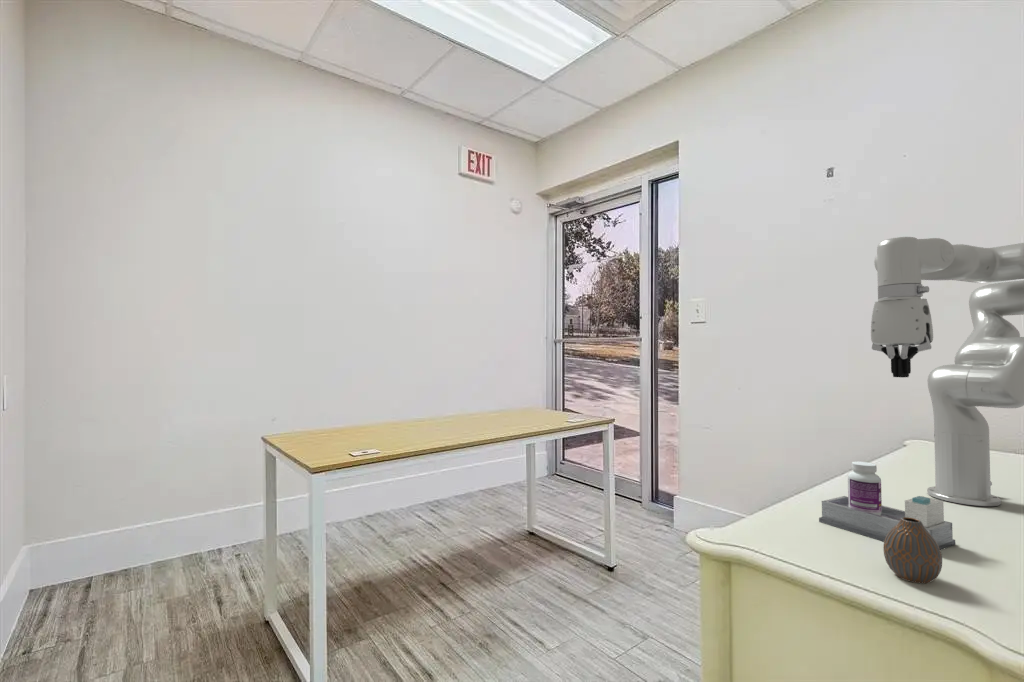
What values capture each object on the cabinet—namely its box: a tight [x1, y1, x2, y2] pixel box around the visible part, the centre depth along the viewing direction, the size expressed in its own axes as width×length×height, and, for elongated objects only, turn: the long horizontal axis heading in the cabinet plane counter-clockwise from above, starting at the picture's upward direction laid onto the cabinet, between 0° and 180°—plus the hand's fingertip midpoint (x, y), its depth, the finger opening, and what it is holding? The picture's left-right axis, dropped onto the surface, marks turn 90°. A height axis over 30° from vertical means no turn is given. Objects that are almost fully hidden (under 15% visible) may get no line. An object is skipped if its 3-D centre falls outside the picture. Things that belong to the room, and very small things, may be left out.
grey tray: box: [818, 495, 956, 551], centre depth 91 cm, size 10×18×8 cm, turn 27°
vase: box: [883, 517, 943, 584], centre depth 73 cm, size 7×7×9 cm
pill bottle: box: [847, 461, 883, 515], centre depth 94 cm, size 5×5×10 cm
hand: (900, 376), depth 105 cm, fingers closed
